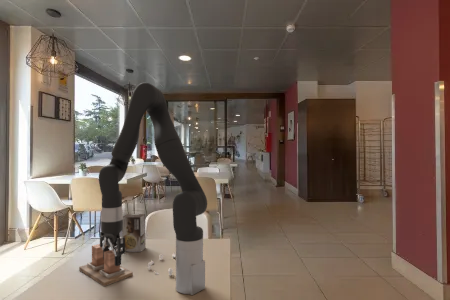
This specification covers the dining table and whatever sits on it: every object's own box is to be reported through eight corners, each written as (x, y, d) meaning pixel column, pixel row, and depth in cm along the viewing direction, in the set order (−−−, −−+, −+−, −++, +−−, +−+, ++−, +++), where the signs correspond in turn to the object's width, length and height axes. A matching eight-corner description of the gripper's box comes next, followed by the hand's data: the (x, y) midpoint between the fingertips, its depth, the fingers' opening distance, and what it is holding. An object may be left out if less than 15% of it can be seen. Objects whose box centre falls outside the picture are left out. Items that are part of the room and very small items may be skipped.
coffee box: (146, 247, 138) (146, 213, 138) (140, 252, 131) (140, 217, 131) (127, 246, 139) (127, 213, 138) (121, 251, 132) (121, 216, 132)
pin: (119, 273, 107) (119, 251, 107) (109, 276, 104) (109, 254, 104) (114, 270, 109) (114, 249, 109) (104, 273, 106) (104, 251, 106)
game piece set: (188, 279, 105) (188, 269, 105) (137, 274, 109) (137, 264, 109) (202, 259, 124) (202, 250, 124) (159, 255, 128) (159, 247, 128)
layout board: (132, 275, 108) (132, 250, 107) (104, 286, 99) (104, 259, 99) (106, 261, 121) (106, 239, 120) (79, 269, 112) (79, 246, 112)
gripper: (131, 219, 105) (131, 264, 105) (111, 213, 114) (111, 254, 114) (112, 224, 99) (112, 271, 99) (93, 217, 108) (93, 260, 108)
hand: (112, 262), depth 107 cm, fingers open, 8 cm apart
